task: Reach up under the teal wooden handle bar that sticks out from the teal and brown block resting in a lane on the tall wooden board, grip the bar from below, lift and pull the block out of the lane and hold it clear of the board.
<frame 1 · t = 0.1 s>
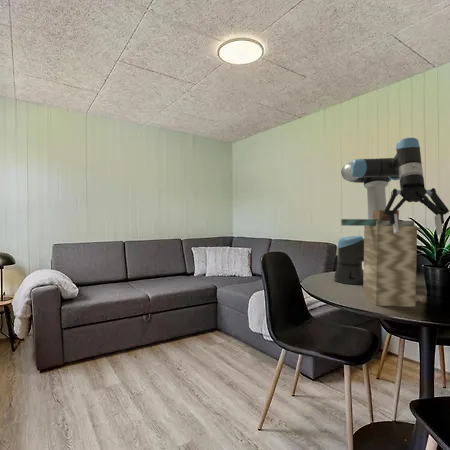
hand: (417, 233, 105), 28 cm above the table, tool tilted 20°, fingers open, 13 cm apart
wooden board: (387, 300, 120), on the table
teal and brown block: (385, 225, 119), point 30 cm above the table, touching wooden board
small box: (397, 290, 138), on the table
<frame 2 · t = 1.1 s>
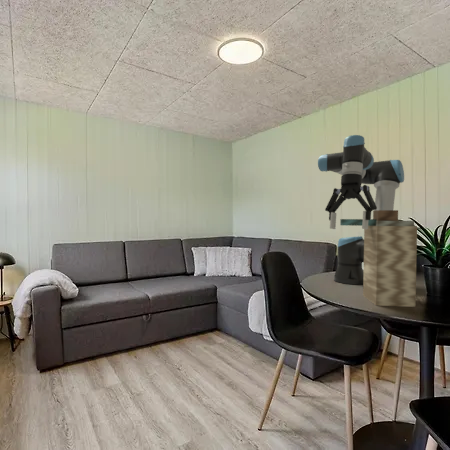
hand: (348, 228, 117), 29 cm above the table, tool pointing down, fingers open, 13 cm apart
small box: (397, 289, 138), on the table, touching arm
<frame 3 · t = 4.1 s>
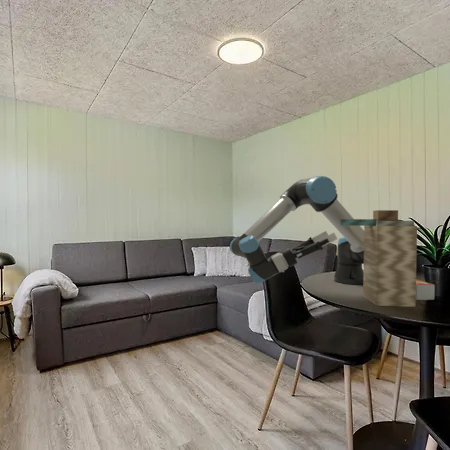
hand: (331, 234, 122), 26 cm above the table, tool pointing upward, fingers open, 13 cm apart
small box: (402, 284, 134), point 3 cm above the table
everything else where it was.
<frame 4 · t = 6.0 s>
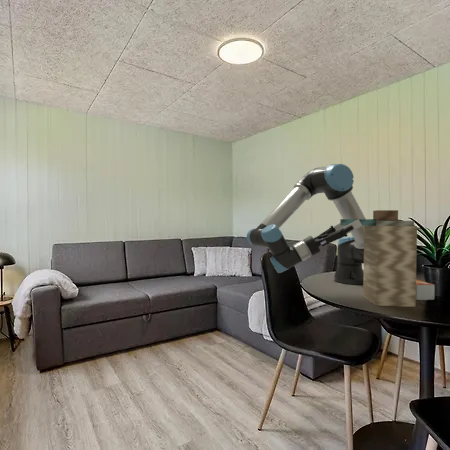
hand: (354, 222, 120), 31 cm above the table, tool pointing upward, fingers open, 13 cm apart
nothing on the table moved.
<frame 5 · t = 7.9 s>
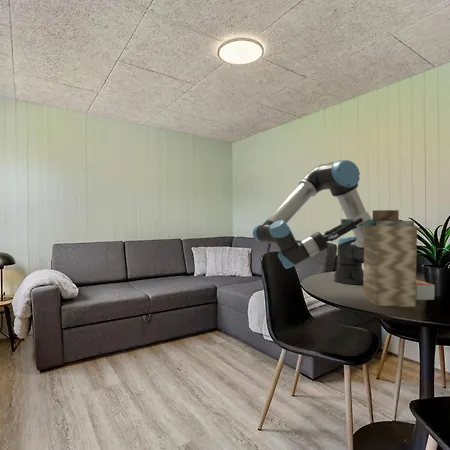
hand: (367, 215, 120), 34 cm above the table, tool pointing upward, fingers closed on teal and brown block, 2 cm apart
teal and brown block: (384, 225, 119), point 30 cm above the table, touching gripper
everything else where it was.
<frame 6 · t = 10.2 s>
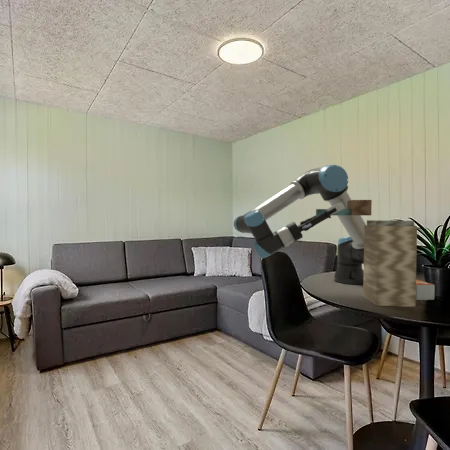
hand: (341, 205, 121), 38 cm above the table, tool pointing upward, fingers closed on teal and brown block, 2 cm apart
teal and brown block: (358, 215, 120), point 34 cm above the table, touching gripper
everything else where it was.
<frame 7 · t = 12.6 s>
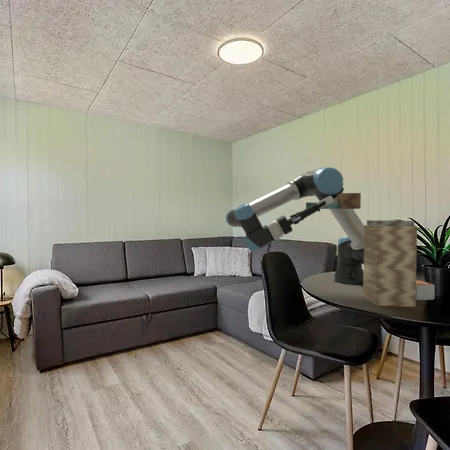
hand: (331, 198, 121), 41 cm above the table, tool pointing upward, fingers closed on teal and brown block, 2 cm apart
teal and brown block: (348, 208, 121), point 37 cm above the table, touching gripper
everything else where it was.
at the end: teal and brown block moved 15.6 cm from its start; the gripper is holding teal and brown block; teal and brown block touching gripper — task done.
